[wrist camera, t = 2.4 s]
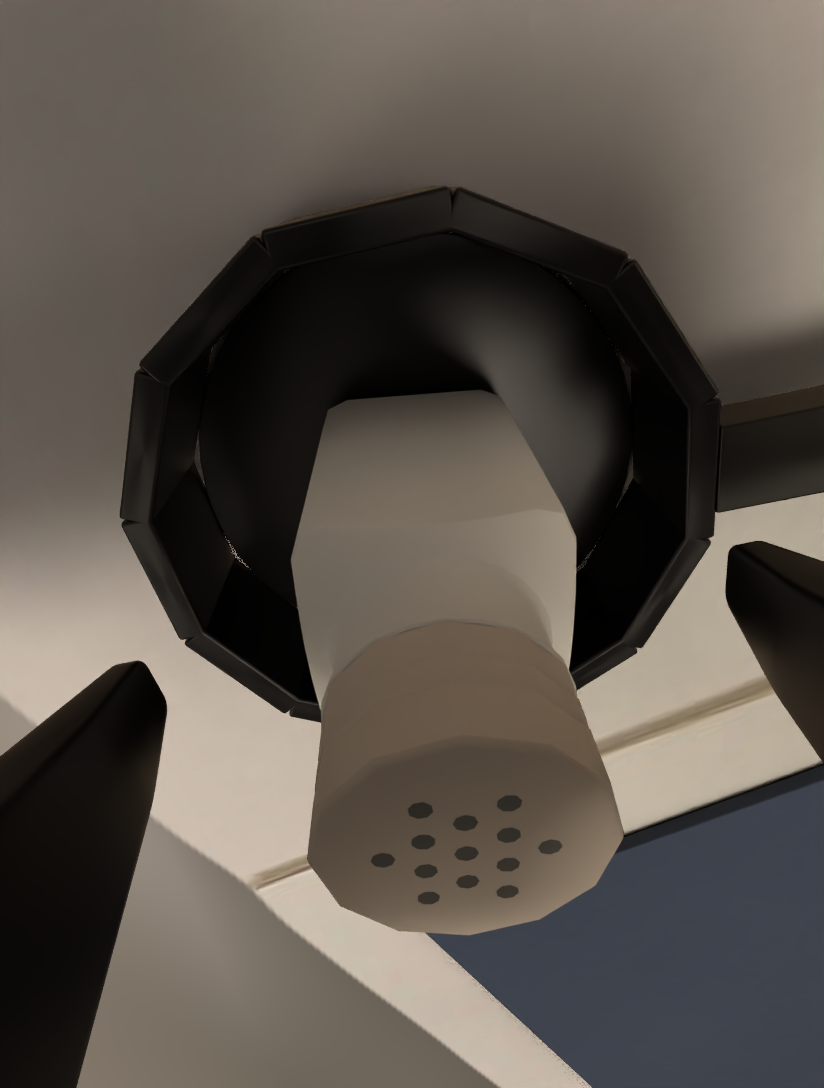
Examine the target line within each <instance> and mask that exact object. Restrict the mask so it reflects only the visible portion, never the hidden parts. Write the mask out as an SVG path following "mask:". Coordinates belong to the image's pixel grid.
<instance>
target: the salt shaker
mask: <svg viewBox="0 0 824 1088" xmlns="http://www.w3.org/2000/svg"><path fill="white" fill-rule="evenodd" d="M291 564H292V571H293V578H294V585H295V592H296V599H297V606H298V612H299V618H300V624H301V629H302V635H303V641H304V646H305V651H306V655H307V660H308V664H309V669H310V673H311V677H312V681H313V685H314V689H315V692H316V696H317V699H318V703H319V707H320V710H321V738H320V748H319V757H318V761H319V762H318V767H317V775H316V784H315V796H314V802H313V811H312V820H311V828H310V837H309V846H308V855H307V860H308V862H309V864H310V865H311V867H312V868H313V870H314V871H315V872H316V874H317V875H318V876H319V878H320V879H321V880H322V882H323V883H324V885H325V886H326V887H327V889H328V890H329V891H330V893H331V894H332V895H333V897H334V898H335V900H336V901H337V902H338V904H339V905H340V906H341V907H344V908H346V909H348V910H351V911H353V912H355V913H358V914H360V915H362V916H365V917H367V918H369V919H372V920H374V921H376V922H379V923H381V924H384V925H386V926H388V927H391V928H393V929H395V930H398V931H409V932H424V933H440V934H456V935H473V934H477V933H482V932H486V931H491V930H495V929H500V928H504V927H508V926H513V925H517V924H522V923H526V922H531V921H535V920H540V919H541V918H543V917H544V916H546V915H548V914H549V913H551V912H553V911H554V910H556V909H558V908H559V907H561V906H563V905H564V904H566V903H567V902H569V901H571V900H572V899H574V898H576V897H577V896H579V895H581V894H582V893H584V892H586V891H587V890H589V889H591V888H592V887H594V886H595V885H596V884H597V882H598V880H599V879H600V877H601V875H602V874H603V872H604V870H605V868H606V867H607V865H608V863H609V862H610V860H611V858H612V857H613V855H614V853H615V851H616V850H617V848H618V846H619V845H620V843H621V841H622V840H623V836H624V831H623V828H622V824H621V820H620V816H619V813H618V809H617V805H616V801H615V797H614V794H613V790H612V786H611V782H610V780H609V777H608V774H607V772H606V769H605V767H604V764H603V761H602V759H601V756H600V754H599V751H598V748H597V746H596V743H595V741H594V738H593V735H592V733H591V730H590V729H589V727H588V724H587V720H586V717H585V714H584V712H583V709H582V707H581V704H580V701H579V699H578V698H577V691H576V685H575V682H574V680H573V678H572V676H571V674H570V672H569V665H570V657H571V648H572V638H573V629H574V612H575V596H576V536H575V533H574V531H573V529H572V527H571V524H570V522H569V520H568V517H567V515H566V513H565V511H564V508H563V506H562V504H561V503H560V501H559V499H558V497H557V496H556V494H555V492H554V490H553V488H552V487H551V485H550V483H549V481H548V480H547V478H546V476H545V474H544V472H543V471H542V469H541V467H540V465H539V464H538V462H537V460H536V458H535V456H534V455H533V453H532V451H531V449H530V447H529V446H528V444H527V442H526V440H525V439H524V437H523V435H522V433H521V431H520V430H519V428H518V426H517V424H516V423H515V421H514V419H513V417H512V415H511V414H510V412H509V410H508V408H507V406H506V405H505V403H504V401H503V399H502V398H501V396H498V395H495V394H492V393H489V392H486V391H483V390H469V391H456V392H444V393H431V394H418V395H405V396H393V397H380V398H368V399H355V400H346V401H344V402H343V403H341V404H339V405H337V406H335V407H333V408H331V409H329V410H328V412H327V416H326V419H325V423H324V427H323V430H322V434H321V438H320V443H319V447H318V451H317V455H316V459H315V463H314V467H313V471H312V475H311V479H310V483H309V487H308V491H307V496H306V500H305V504H304V508H303V512H302V516H301V520H300V524H299V528H298V532H297V536H296V540H295V544H294V549H293V553H292V557H291Z"/></svg>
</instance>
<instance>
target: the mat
mask: <svg viewBox="0 0 824 1088" xmlns="http://www.w3.org/2000/svg"><path fill="white" fill-rule="evenodd" d="M426 934H427V935H428V936H429V937H430V938H432V939H433V940H434V941H435V942H436V943H437V944H438V945H439V946H440V947H441V948H442V949H443V950H445V951H446V952H447V953H448V954H449V955H450V956H451V957H452V958H453V959H454V960H455V961H456V962H457V963H459V964H460V965H461V966H462V967H463V968H464V969H465V970H466V971H467V972H468V973H469V974H470V975H472V976H473V977H474V978H475V979H476V980H477V981H478V982H479V983H480V984H481V985H482V986H483V987H484V988H486V989H487V990H488V991H489V992H490V993H491V994H492V995H493V996H494V997H495V998H496V999H497V1000H499V1001H500V1002H501V1003H502V1004H503V1005H504V1006H505V1007H506V1008H507V1009H508V1010H509V1011H510V1012H511V1013H513V1014H514V1015H515V1016H516V1017H517V1018H518V1019H519V1020H520V1021H521V1022H522V1023H523V1024H524V1025H526V1026H527V1027H528V1028H529V1029H530V1030H531V1031H532V1032H533V1033H534V1034H535V1035H536V1036H537V1037H538V1038H540V1039H541V1040H542V1041H543V1042H544V1043H545V1044H546V1045H547V1046H548V1047H549V1048H550V1049H551V1050H552V1051H554V1052H555V1053H556V1054H557V1055H558V1056H559V1057H560V1058H561V1059H562V1060H563V1061H564V1062H565V1063H567V1064H568V1065H569V1066H570V1067H571V1068H572V1069H573V1070H574V1071H575V1072H576V1073H577V1074H578V1075H579V1076H581V1077H582V1078H583V1079H584V1080H585V1081H586V1082H587V1083H588V1084H589V1085H590V1086H591V1087H592V1088H824V765H823V766H820V767H817V768H815V769H812V770H809V771H806V772H803V773H801V774H798V775H795V776H792V777H790V778H787V779H784V780H781V781H779V782H776V783H773V784H770V785H767V786H765V787H762V788H759V789H756V790H754V791H751V792H748V793H745V794H742V795H740V796H737V797H734V798H731V799H729V800H726V801H723V802H720V803H718V804H715V805H712V806H709V807H706V808H704V809H701V810H698V811H695V812H693V813H690V814H687V815H684V816H681V817H679V818H676V819H673V820H670V821H668V822H665V823H662V824H659V825H657V826H654V827H651V828H648V829H645V830H643V831H640V832H637V833H634V834H632V835H629V836H626V837H623V840H622V841H621V843H620V845H619V846H618V848H617V850H616V851H615V853H614V855H613V857H612V858H611V860H610V862H609V863H608V865H607V867H606V868H605V870H604V872H603V874H602V875H601V877H600V879H599V880H598V882H597V884H596V885H595V886H594V887H592V888H591V889H589V890H587V891H586V892H584V893H582V894H581V895H579V896H577V897H576V898H574V899H572V900H571V901H569V902H567V903H566V904H564V905H563V906H561V907H559V908H558V909H556V910H554V911H553V912H551V913H549V914H548V915H546V916H544V917H543V918H541V919H540V920H535V921H531V922H526V923H522V924H517V925H513V926H508V927H504V928H500V929H495V930H491V931H486V932H482V933H477V934H473V935H456V934H440V933H426Z"/></svg>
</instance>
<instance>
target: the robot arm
mask: <svg viewBox="0 0 824 1088" xmlns="http://www.w3.org/2000/svg"><path fill="white" fill-rule="evenodd" d="M726 599H727V603H728V606H729V608H730V610H731V612H732V614H733V616H734V617H735V619H736V621H737V623H738V625H739V627H740V629H741V631H742V632H743V634H744V636H745V638H746V640H747V642H748V644H749V645H750V647H751V649H752V651H753V653H754V655H755V657H756V659H757V660H758V662H759V664H760V666H761V668H762V670H763V672H764V674H765V675H766V677H767V679H768V681H769V683H770V684H771V686H772V688H773V690H774V691H775V693H776V695H777V696H778V698H779V699H780V701H781V702H782V704H783V705H784V707H785V708H786V710H787V711H788V712H789V714H790V715H791V717H792V718H793V720H794V721H795V723H796V724H797V725H798V727H799V728H800V730H801V731H802V733H803V734H804V736H805V737H806V738H807V740H808V741H809V743H810V744H811V746H812V747H813V748H814V750H815V751H816V753H817V754H818V756H819V757H820V759H821V760H822V761H823V763H824V561H821V560H818V559H815V558H812V557H809V556H806V555H803V554H800V553H797V552H794V551H791V550H788V549H785V548H782V547H779V546H776V545H773V544H770V543H767V542H763V541H754V542H749V543H744V544H739V545H735V546H733V547H732V548H731V549H730V551H729V554H728V562H727V576H726ZM166 716H167V704H166V700H165V697H164V695H163V693H162V691H161V690H160V688H159V686H158V684H157V683H156V681H155V679H154V677H153V675H152V674H151V672H150V670H149V668H148V667H147V665H146V664H145V663H143V662H141V661H132V662H127V663H122V664H117V665H115V666H113V667H111V668H110V669H109V670H107V671H106V672H105V673H104V674H102V675H101V676H100V677H99V678H97V679H96V680H95V681H94V682H92V683H91V684H90V685H89V686H87V687H86V688H85V689H84V690H82V691H81V692H80V693H79V694H77V695H76V696H75V697H74V698H72V699H71V700H70V701H69V702H67V703H66V704H65V705H64V706H62V707H61V708H60V709H59V710H57V711H56V712H55V713H54V714H52V715H51V716H50V717H49V718H47V719H46V720H45V721H44V722H42V723H41V724H40V725H39V726H37V727H36V728H35V729H34V730H33V731H31V732H30V733H29V734H28V735H27V736H25V737H24V738H23V739H21V740H20V741H19V742H18V743H16V744H15V745H14V746H13V747H11V748H10V749H9V750H8V751H7V752H5V753H4V754H3V755H1V756H0V1088H76V1086H77V1083H78V1079H79V1076H80V1071H81V1068H82V1064H83V1061H84V1057H85V1053H86V1049H87V1046H88V1042H89V1039H90V1035H91V1031H92V1027H93V1024H94V1020H95V1016H96V1012H97V1009H98V1005H99V1001H100V998H101V994H102V990H103V986H104V983H105V979H106V975H107V971H108V968H109V964H110V960H111V956H112V953H113V949H114V945H115V942H116V938H117V934H118V931H119V927H120V923H121V919H122V916H123V912H124V908H125V905H126V901H127V897H128V893H129V890H130V886H131V882H132V878H133V875H134V871H135V867H136V864H137V860H138V856H139V853H140V848H141V845H142V841H143V837H144V834H145V830H146V826H147V822H148V819H149V815H150V811H151V807H152V802H153V797H154V792H155V787H156V780H157V774H158V767H159V761H160V755H161V748H162V742H163V735H164V729H165V722H166Z"/></svg>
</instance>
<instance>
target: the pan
mask: <svg viewBox="0 0 824 1088" xmlns="http://www.w3.org/2000/svg"><path fill="white" fill-rule="evenodd" d="M445 232H452V233H455V234H457V235H452V234H445ZM536 264H538V265H540V266H543V267H546V268H548V269H551V270H554V271H556V272H559V273H562V274H564V275H565V276H566V277H567V278H568V280H569V281H570V283H571V284H572V286H573V287H574V288H575V290H576V291H577V293H578V294H579V296H580V297H581V298H582V300H583V301H584V303H585V304H586V306H587V307H588V308H589V310H590V311H591V313H592V314H593V315H592V314H591V313H590V311H589V310H588V309H587V308H586V307H585V305H584V304H583V303H582V302H581V300H580V299H579V298H578V297H577V296H576V295H575V294H574V293H572V292H571V291H570V290H569V289H568V288H567V287H566V286H565V285H564V284H563V283H561V282H560V281H559V280H558V279H557V278H556V277H554V276H553V275H551V274H550V273H548V272H547V271H545V270H544V269H542V268H541V267H539V266H538V265H536ZM295 267H298V268H296V269H295V270H293V271H292V272H290V273H289V274H287V275H286V276H285V277H283V278H282V279H280V280H279V281H278V282H277V283H275V284H274V285H273V286H272V287H271V288H270V289H269V290H268V291H267V292H266V293H265V294H263V293H264V292H265V291H266V290H267V289H268V288H269V287H270V286H271V285H272V284H273V283H274V281H275V280H276V279H277V278H278V277H279V276H280V275H281V274H282V273H283V272H284V271H285V270H287V269H291V268H295ZM262 294H263V295H262ZM261 295H262V296H261ZM260 296H261V297H260ZM259 297H260V298H259ZM251 306H252V307H251ZM250 307H251V308H250ZM249 308H250V309H249ZM248 309H249V310H248ZM247 310H248V311H247ZM246 311H247V313H246V314H245V315H244V313H245V312H246ZM243 315H244V316H243ZM242 316H243V318H242V319H241V320H240V321H239V323H238V324H237V325H236V326H235V328H234V330H233V331H232V333H231V335H230V336H229V338H228V340H227V341H226V343H225V345H224V347H223V348H222V350H221V352H220V353H219V356H218V358H217V361H216V363H215V366H214V368H213V371H212V373H211V376H210V378H209V381H208V385H207V389H206V393H205V387H206V381H207V375H208V369H209V363H210V357H211V351H212V348H213V347H214V345H215V344H216V343H217V342H218V341H219V340H220V339H221V338H222V337H223V336H224V335H225V334H226V333H227V332H228V331H229V329H230V328H231V327H232V326H233V325H234V324H235V323H236V322H237V321H238V320H239V319H240V318H241V317H242ZM594 317H595V318H596V319H595V318H594ZM599 324H600V325H599ZM601 327H602V328H601ZM602 329H603V330H604V331H605V333H606V334H607V336H608V337H609V339H610V340H611V341H612V343H613V344H614V346H615V347H616V349H617V350H618V351H619V353H620V354H621V356H622V357H623V359H624V360H625V361H626V363H627V364H628V366H629V367H630V369H631V409H632V420H631V410H630V399H629V395H628V391H627V387H626V383H625V379H624V375H623V371H622V369H621V366H620V364H619V361H618V359H617V357H616V354H615V352H614V349H613V347H612V345H611V343H610V341H609V340H608V338H607V336H606V335H605V333H604V331H603V330H602ZM139 366H140V369H139V370H137V371H136V373H135V375H134V384H133V394H132V403H131V413H130V422H129V431H128V441H127V450H126V459H125V469H124V478H123V488H122V497H121V506H120V518H122V519H124V521H123V522H122V528H123V530H124V532H125V534H126V536H127V538H128V539H129V541H130V543H131V545H132V547H133V549H134V551H135V553H136V555H137V557H138V559H139V561H140V563H141V565H142V567H143V569H144V571H145V572H146V574H147V576H148V578H149V580H150V582H151V584H152V586H153V588H154V590H155V592H156V594H157V596H158V598H159V600H160V602H161V604H162V605H163V607H164V609H165V611H166V613H167V615H168V617H169V619H170V621H171V623H172V625H173V627H174V629H175V631H176V633H177V635H178V637H179V638H180V639H181V640H184V639H186V641H185V645H186V646H187V647H189V648H190V649H192V650H193V651H195V652H196V653H198V654H199V655H200V656H202V657H203V658H205V659H206V660H208V661H209V662H210V663H212V664H213V665H215V666H216V667H218V668H219V669H221V670H222V671H223V672H225V673H226V674H228V675H229V676H231V677H232V678H234V679H235V680H236V681H238V682H239V683H241V684H242V685H244V686H245V687H247V688H248V689H249V690H251V691H252V692H254V693H255V694H257V695H258V696H259V697H261V698H262V699H264V700H265V701H267V702H268V703H270V704H271V705H272V706H274V707H275V708H277V709H278V710H280V711H281V712H283V713H287V712H288V711H289V710H290V712H289V714H290V716H291V717H296V718H301V719H306V720H311V721H316V722H321V710H320V707H319V703H318V699H317V696H316V692H315V689H314V685H313V681H312V677H311V673H310V669H309V664H308V660H307V655H306V651H305V646H304V641H303V635H302V629H301V624H300V618H299V612H298V609H297V608H295V607H294V606H296V607H298V606H297V599H296V592H295V585H294V578H293V571H292V564H291V557H292V553H293V549H294V544H295V540H296V536H297V532H298V528H299V524H300V520H301V516H302V512H303V508H304V504H305V500H306V496H307V491H308V487H309V483H310V479H311V475H312V471H313V467H314V463H315V459H316V455H317V451H318V447H319V443H320V438H321V434H322V430H323V427H324V423H325V419H326V416H327V412H328V410H329V409H331V408H333V407H335V406H337V405H339V404H341V403H343V402H344V401H346V400H355V399H368V398H380V397H393V396H405V395H418V394H431V393H444V392H456V391H469V390H483V391H486V392H489V393H492V394H495V395H498V396H501V398H502V399H503V401H504V403H505V405H506V406H507V408H508V410H509V412H510V414H511V415H512V417H513V419H514V421H515V423H516V424H517V426H518V428H519V430H520V431H521V433H522V435H523V437H524V439H525V440H526V442H527V444H528V446H529V447H530V449H531V451H532V453H533V455H534V456H535V458H536V460H537V462H538V464H539V465H540V467H541V469H542V471H543V472H544V474H545V476H546V478H547V480H548V481H549V483H550V485H551V487H552V488H553V490H554V492H555V494H556V496H557V497H558V499H559V501H560V503H561V504H562V506H563V508H564V511H565V513H566V515H567V517H568V520H569V522H570V524H571V527H572V529H573V531H574V533H575V536H576V568H577V567H578V566H579V565H580V563H581V562H582V561H583V560H584V559H585V557H586V556H587V555H588V554H589V552H590V551H591V550H592V549H593V547H594V546H595V544H596V543H597V544H596V546H595V548H594V550H593V551H592V553H591V555H590V557H589V559H588V560H587V562H586V564H585V566H584V568H583V569H581V570H580V571H578V572H577V573H576V596H575V612H574V629H573V638H572V648H571V657H570V665H569V672H570V674H571V676H572V678H573V680H574V682H575V685H576V691H577V690H578V689H580V688H581V687H583V686H585V685H586V684H588V683H589V682H591V681H593V680H594V679H596V678H597V677H599V676H601V675H602V674H604V673H606V672H607V671H609V670H610V669H612V668H614V667H615V666H617V665H618V664H620V663H622V662H623V661H625V660H626V659H628V658H630V657H631V656H633V655H634V654H636V653H637V649H636V647H637V648H642V647H643V646H644V645H645V643H646V642H647V640H648V639H649V637H650V636H651V634H652V633H653V631H654V630H655V628H656V626H657V625H658V623H659V622H660V620H661V619H662V617H663V616H664V614H665V613H666V611H667V610H668V608H669V607H670V605H671V604H672V602H673V601H674V599H675V598H676V596H677V595H678V593H679V591H680V590H681V588H682V587H683V585H684V584H685V582H686V581H687V579H688V578H689V576H690V575H691V573H692V572H693V570H694V569H695V567H696V566H697V564H698V563H699V561H700V560H701V558H702V557H703V555H704V553H705V552H706V550H707V549H708V547H709V546H710V544H711V541H710V540H709V539H708V538H710V537H712V536H713V535H714V523H715V511H716V512H718V513H720V512H725V511H730V510H735V509H740V508H745V507H750V506H755V505H760V504H765V503H770V502H776V501H781V500H786V499H791V498H796V497H801V496H806V495H811V494H816V493H821V492H824V385H820V386H815V387H810V388H805V389H801V390H796V391H791V392H786V393H781V394H776V395H772V396H767V397H762V398H757V399H752V400H748V401H743V402H738V403H733V404H728V405H724V406H721V400H720V398H718V397H717V396H716V395H717V394H718V393H719V392H718V388H717V387H716V385H715V384H714V382H713V380H712V379H711V377H710V376H709V374H708V372H707V371H706V369H705V368H704V366H703V365H702V363H701V361H700V360H699V358H698V357H697V355H696V354H695V352H694V350H693V349H692V347H691V346H690V344H689V342H688V341H687V339H686V338H685V336H684V335H683V333H682V331H681V330H680V328H679V327H678V325H677V323H676V322H675V320H674V319H673V317H672V316H671V314H670V312H669V311H668V309H667V308H666V306H665V305H664V303H663V301H662V300H661V298H660V297H659V295H658V293H657V292H656V290H655V289H654V287H653V286H652V284H651V282H650V281H649V279H648V278H647V276H646V274H645V273H644V271H643V270H642V268H641V267H640V265H639V263H638V262H637V261H636V260H635V259H632V258H629V257H628V254H627V252H626V251H623V250H621V249H618V248H615V247H613V246H610V245H608V244H605V243H603V242H600V241H598V240H595V239H592V238H590V237H587V236H585V235H582V234H580V233H577V232H574V231H572V230H569V229H567V228H564V227H562V226H559V225H557V224H554V223H551V222H549V221H546V220H544V219H541V218H539V217H536V216H533V215H531V214H528V213H526V212H523V211H521V210H518V209H516V208H513V207H510V206H508V205H505V204H503V203H500V202H498V201H495V200H492V199H490V198H487V197H485V196H482V195H480V194H477V193H475V192H472V191H469V190H467V189H464V188H462V187H447V186H430V187H425V188H421V189H417V190H413V191H409V192H405V193H400V194H396V195H392V196H388V197H384V198H379V199H375V200H371V201H367V202H363V203H358V204H354V205H350V206H346V207H342V208H338V209H333V210H329V211H325V212H321V213H317V214H312V215H308V216H304V217H300V218H296V219H292V220H288V221H285V222H283V223H280V224H277V225H274V226H272V227H269V228H266V229H264V230H263V231H262V233H261V234H258V235H255V236H253V237H251V238H250V239H249V240H248V241H247V242H246V243H245V245H244V246H243V247H242V248H241V249H240V250H239V251H238V252H237V254H236V255H235V256H234V257H233V258H232V259H231V260H230V261H229V262H228V264H227V265H226V266H225V267H224V268H223V269H222V270H221V271H220V273H219V274H218V275H217V276H216V277H215V278H214V279H213V280H212V282H211V283H210V284H209V285H208V286H207V287H206V288H205V289H204V290H203V292H202V293H201V294H200V295H199V296H198V297H197V298H196V299H195V301H194V302H193V303H192V304H191V305H190V306H189V307H188V308H187V310H186V311H185V312H184V313H183V314H182V315H181V316H180V317H179V318H178V320H177V321H176V322H175V323H174V324H173V325H172V326H171V327H170V329H169V330H168V331H167V332H166V333H165V334H164V335H163V336H162V337H161V339H160V340H159V341H158V342H157V343H156V344H155V345H154V346H153V348H152V349H151V350H150V351H149V352H148V353H147V354H146V355H145V357H144V358H143V359H142V360H141V361H140V363H139ZM204 393H205V398H204ZM203 399H204V402H203ZM201 412H202V413H201ZM200 418H201V424H200ZM199 424H200V435H199V437H200V456H201V466H202V471H203V476H204V481H205V487H206V490H207V493H208V496H209V499H210V501H209V499H208V496H207V494H206V492H205V489H204V487H203V484H202V482H201V480H200V477H199V475H198V472H197V470H196V468H195V465H194V463H193V460H194V454H195V448H196V442H197V436H198V430H199ZM631 439H632V453H633V479H632V481H631V483H630V484H629V486H628V488H627V490H626V492H625V493H624V495H623V497H622V499H621V501H620V503H619V504H618V502H619V499H620V496H621V493H622V490H623V487H624V484H625V481H626V476H627V471H628V466H629V460H630V455H631ZM210 502H211V503H210ZM617 504H618V506H617ZM211 505H212V506H211ZM616 507H617V508H616ZM615 509H616V510H615ZM614 511H615V512H614ZM219 524H220V525H219ZM220 526H221V527H220ZM221 528H222V530H223V532H224V534H225V536H226V537H227V539H228V540H229V542H230V543H231V545H232V546H233V547H234V549H235V550H236V552H237V553H238V555H239V556H240V558H241V559H242V560H243V561H244V562H245V563H246V564H247V566H248V567H249V568H250V569H251V570H252V571H253V572H254V574H255V575H256V576H257V577H256V576H255V575H254V574H253V573H251V572H250V571H249V570H248V569H246V568H245V567H244V566H243V565H241V564H240V563H239V562H237V561H236V560H235V559H234V558H233V556H232V553H231V551H230V549H229V546H228V544H227V541H226V539H225V537H224V534H223V532H222V530H221ZM599 538H600V539H599ZM598 540H599V541H598ZM597 541H598V542H597ZM259 578H260V579H261V580H262V581H261V580H260V579H259ZM289 602H290V603H291V604H290V603H289ZM292 604H293V605H294V606H293V605H292Z"/></svg>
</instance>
